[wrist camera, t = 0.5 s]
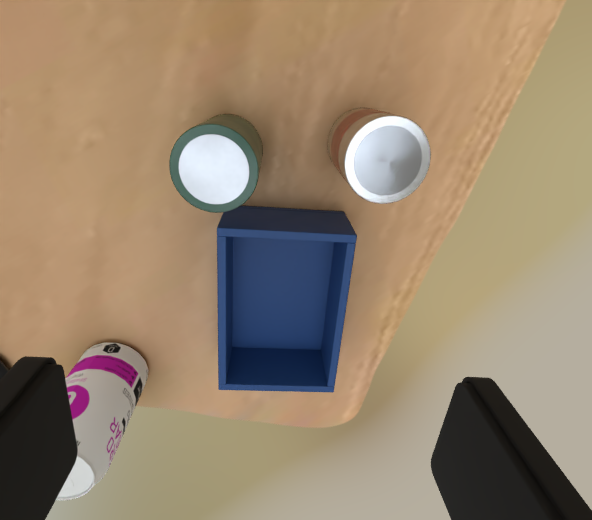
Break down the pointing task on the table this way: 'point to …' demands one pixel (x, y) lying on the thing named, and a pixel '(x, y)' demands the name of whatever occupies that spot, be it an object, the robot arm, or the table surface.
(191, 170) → the green can
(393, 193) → the silver can
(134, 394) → the supplement can
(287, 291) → the blue storage box
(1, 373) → the gaming mouse
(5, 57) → the table surface
